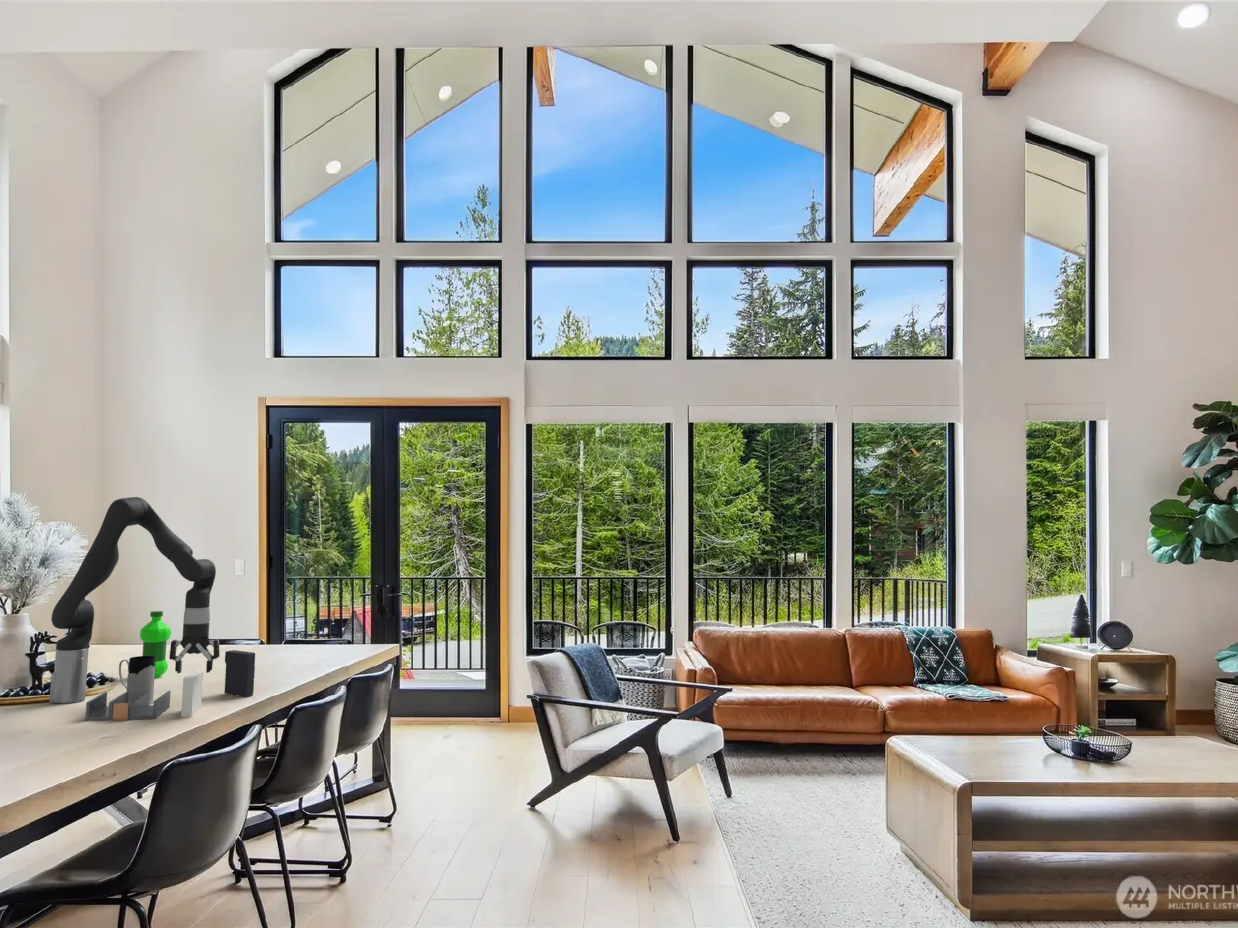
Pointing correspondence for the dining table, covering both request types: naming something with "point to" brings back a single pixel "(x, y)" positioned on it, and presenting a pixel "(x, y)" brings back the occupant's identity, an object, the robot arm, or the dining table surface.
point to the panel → (192, 693)
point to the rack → (126, 707)
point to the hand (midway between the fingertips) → (193, 672)
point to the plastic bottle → (156, 641)
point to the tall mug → (139, 677)
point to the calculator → (239, 673)
